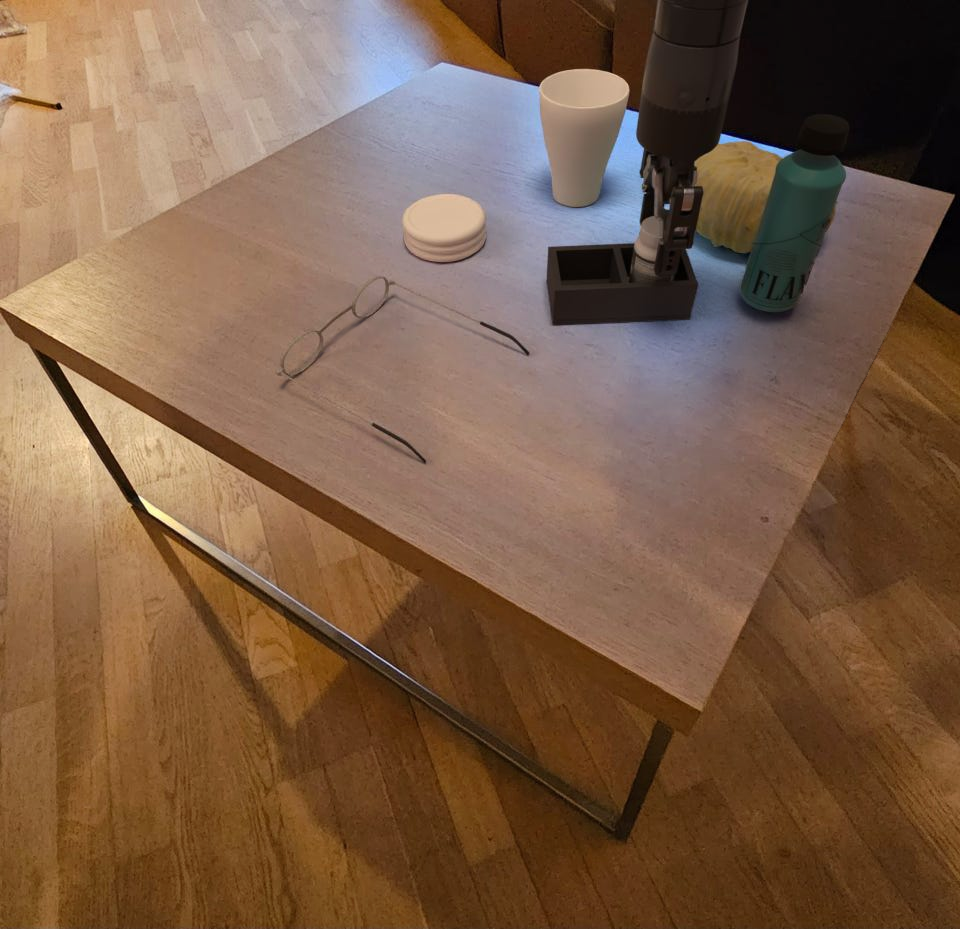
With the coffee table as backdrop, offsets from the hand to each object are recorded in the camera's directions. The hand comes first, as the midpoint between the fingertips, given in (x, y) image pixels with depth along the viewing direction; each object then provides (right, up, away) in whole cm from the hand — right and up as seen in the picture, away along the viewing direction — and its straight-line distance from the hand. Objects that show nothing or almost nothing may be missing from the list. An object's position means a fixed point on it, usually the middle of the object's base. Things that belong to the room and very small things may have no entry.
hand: (656, 249), depth 75 cm
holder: (-3, -4, +5) cm, 7 cm away
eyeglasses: (-26, -13, -1) cm, 29 cm away
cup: (-6, +13, +19) cm, 24 cm away
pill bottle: (0, -4, +4) cm, 6 cm away
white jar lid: (-23, +5, +13) cm, 27 cm away
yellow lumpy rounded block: (+14, +6, +13) cm, 20 cm away
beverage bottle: (+13, -5, +4) cm, 14 cm away
